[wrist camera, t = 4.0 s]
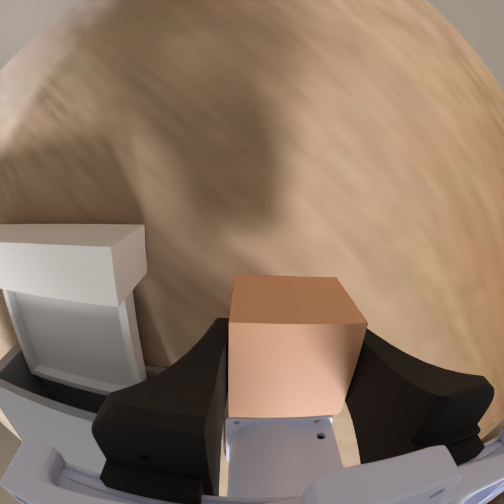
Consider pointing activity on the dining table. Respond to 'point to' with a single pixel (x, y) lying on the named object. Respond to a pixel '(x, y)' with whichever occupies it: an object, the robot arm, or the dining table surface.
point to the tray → (78, 341)
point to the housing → (53, 411)
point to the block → (291, 346)
